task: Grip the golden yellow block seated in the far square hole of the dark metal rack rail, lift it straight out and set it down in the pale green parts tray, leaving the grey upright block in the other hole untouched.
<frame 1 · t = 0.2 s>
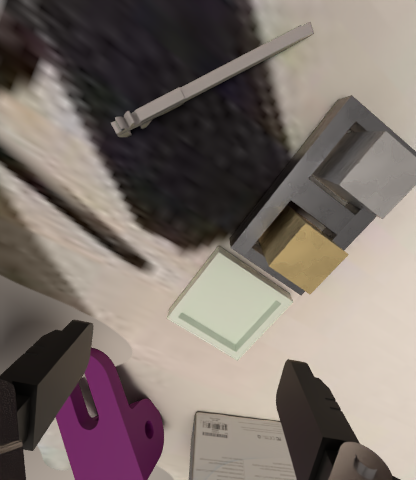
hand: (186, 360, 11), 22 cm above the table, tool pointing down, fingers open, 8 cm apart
parts tray: (228, 301, 36), on the table
mounting bracket: (110, 389, 42), on the table
golden yellow block: (287, 232, 33), resting in rack rail
hard drive box: (241, 431, 44), on the table
caliper: (212, 84, 28), on the table
grey upright block: (342, 167, 30), resting in rack rail
rack rail: (313, 201, 31), on the table
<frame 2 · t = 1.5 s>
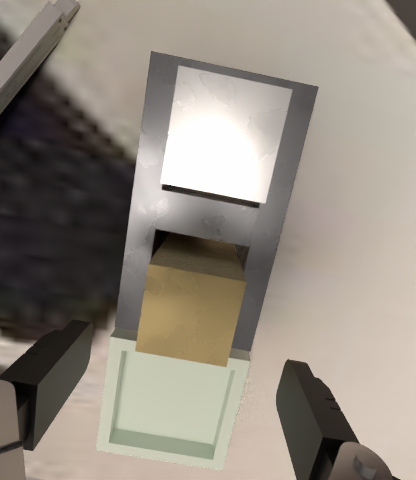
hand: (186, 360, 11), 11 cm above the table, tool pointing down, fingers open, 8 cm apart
parts tray: (172, 389, 25), on the table
golden yellow block: (196, 268, 22), resting in rack rail
caliper: (0, 129, 21), on the table
grey upright block: (218, 152, 20), resting in rack rail
rack rail: (207, 213, 21), on the table
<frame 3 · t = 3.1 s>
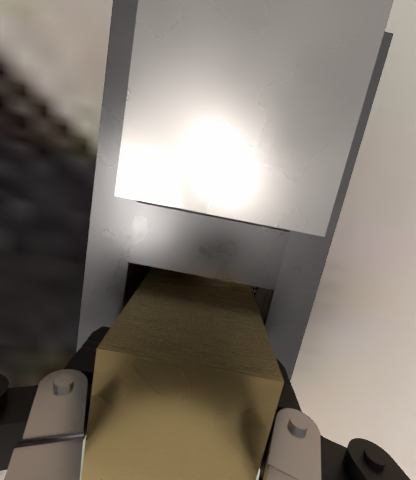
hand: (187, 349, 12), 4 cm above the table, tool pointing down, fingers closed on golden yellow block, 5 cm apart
golden yellow block: (193, 310, 16), resting in rack rail, touching gripper
grey upright block: (226, 145, 14), resting in rack rail
rack rail: (208, 233, 15), on the table
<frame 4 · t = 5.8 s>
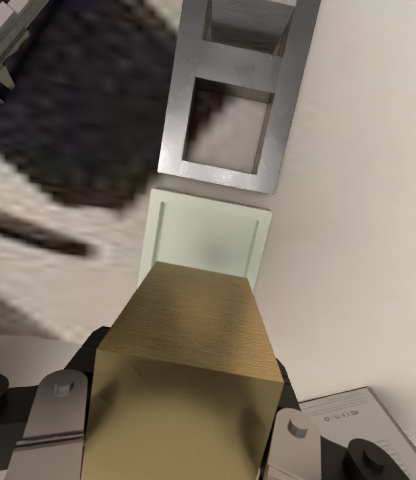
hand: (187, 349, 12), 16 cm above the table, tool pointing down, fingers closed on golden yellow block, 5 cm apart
parts tray: (201, 253, 28), on the table
golden yellow block: (193, 311, 16), point 13 cm above the table, touching gripper
hard drive box: (308, 425, 33), on the table
caliper: (60, 5, 24), on the table
grey upright block: (246, 23, 24), resting in rack rail
rack rail: (235, 80, 25), on the table
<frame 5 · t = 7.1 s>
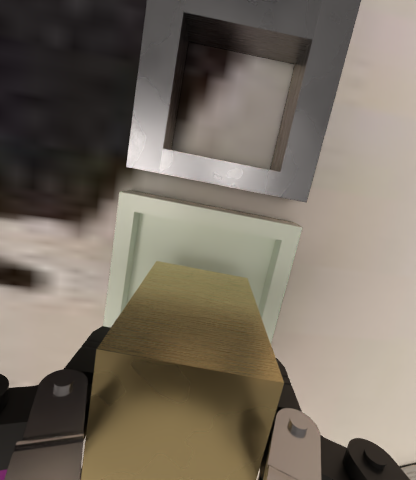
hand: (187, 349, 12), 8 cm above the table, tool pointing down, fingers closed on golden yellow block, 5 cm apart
parts tray: (196, 283, 20), on the table
golden yellow block: (193, 311, 16), point 4 cm above the table, touching gripper
rack rail: (246, 28, 16), on the table
when the fingers open (6 cm above the table, at t = 8.4 s): golden yellow block drops 2 cm, resting on parts tray.
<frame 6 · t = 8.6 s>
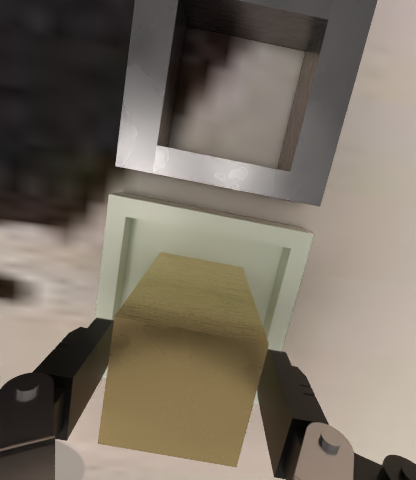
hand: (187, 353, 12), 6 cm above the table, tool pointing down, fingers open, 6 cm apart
parts tray: (195, 294, 18), on the table
golden yellow block: (194, 298, 17), point 1 cm above the table, touching parts tray
rack rail: (251, 10, 14), on the table
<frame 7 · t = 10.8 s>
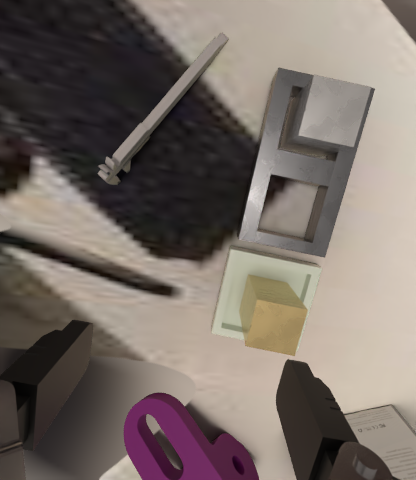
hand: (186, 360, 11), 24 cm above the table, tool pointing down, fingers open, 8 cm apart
parts tray: (262, 295, 36), on the table
mounting bracket: (186, 434, 41), on the table
golden yellow block: (262, 297, 35), point 1 cm above the table, touching parts tray
hard drive box: (342, 436, 40), on the table
caliper: (168, 113, 33), on the table
grey upright block: (305, 130, 32), resting in rack rail
rack rail: (295, 169, 33), on the table
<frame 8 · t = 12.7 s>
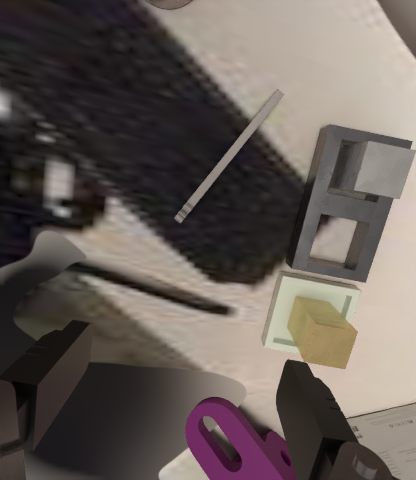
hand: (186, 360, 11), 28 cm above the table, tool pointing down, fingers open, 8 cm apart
parts tray: (306, 313, 41), on the table
mounting bracket: (236, 431, 46), on the table
golden yellow block: (307, 314, 41), point 1 cm above the table, touching parts tray
hard drive box: (372, 430, 46), on the table
caliper: (227, 158, 37), on the table
grey upright block: (348, 172, 37), resting in rack rail
rack rail: (338, 205, 38), on the table
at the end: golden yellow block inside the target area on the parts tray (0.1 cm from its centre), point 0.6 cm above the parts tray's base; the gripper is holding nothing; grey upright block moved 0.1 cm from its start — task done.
